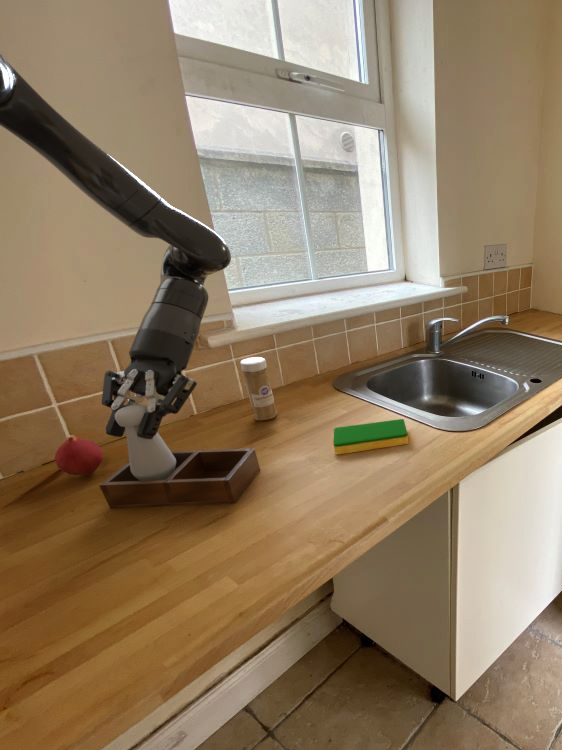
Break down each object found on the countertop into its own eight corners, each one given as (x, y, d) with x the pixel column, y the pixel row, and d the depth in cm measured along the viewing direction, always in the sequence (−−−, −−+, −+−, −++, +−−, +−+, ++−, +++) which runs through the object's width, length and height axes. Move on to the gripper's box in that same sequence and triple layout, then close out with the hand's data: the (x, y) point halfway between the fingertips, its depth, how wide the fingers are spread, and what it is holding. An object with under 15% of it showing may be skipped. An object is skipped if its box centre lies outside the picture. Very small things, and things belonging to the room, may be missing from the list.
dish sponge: (408, 444, 91) (407, 434, 90) (335, 455, 86) (333, 444, 85) (404, 428, 97) (403, 418, 96) (335, 437, 92) (333, 427, 91)
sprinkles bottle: (266, 423, 97) (251, 365, 91) (249, 419, 98) (234, 361, 92) (282, 414, 101) (269, 357, 95) (266, 410, 102) (253, 354, 96)
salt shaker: (141, 472, 76) (112, 403, 70) (182, 464, 78) (158, 397, 72) (132, 491, 71) (100, 419, 65) (176, 482, 73) (149, 412, 68)
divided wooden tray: (109, 509, 70) (98, 485, 68) (149, 473, 79) (140, 451, 77) (235, 503, 73) (228, 480, 71) (260, 469, 81) (254, 448, 79)
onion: (57, 480, 76) (36, 440, 73) (96, 463, 81) (78, 424, 78) (79, 488, 75) (59, 447, 71) (118, 470, 80) (101, 431, 76)
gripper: (105, 324, 71) (60, 427, 66) (191, 329, 70) (153, 433, 65) (145, 345, 78) (107, 439, 73) (223, 349, 78) (191, 445, 72)
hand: (129, 436), depth 69 cm, fingers closed on salt shaker, 4 cm apart
